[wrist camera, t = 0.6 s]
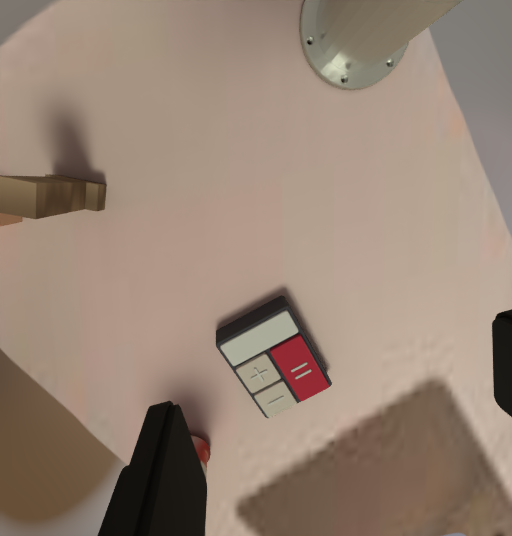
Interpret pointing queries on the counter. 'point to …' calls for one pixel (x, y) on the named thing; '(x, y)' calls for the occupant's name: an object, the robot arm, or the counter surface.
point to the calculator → (272, 357)
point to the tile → (9, 219)
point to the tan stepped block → (49, 195)
